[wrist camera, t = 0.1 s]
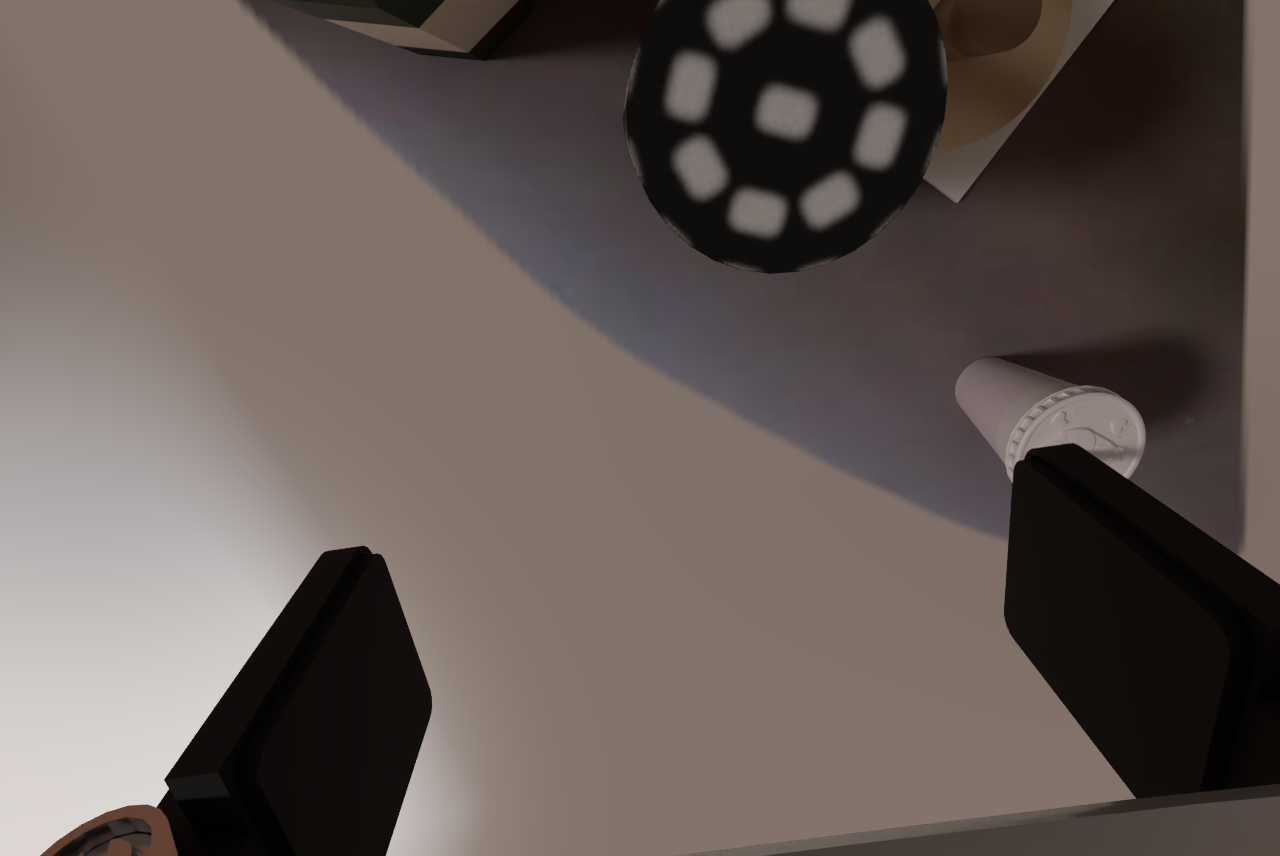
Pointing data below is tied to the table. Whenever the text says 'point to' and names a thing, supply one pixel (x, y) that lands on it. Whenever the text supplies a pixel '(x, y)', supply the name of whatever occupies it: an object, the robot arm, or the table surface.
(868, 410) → the table surface
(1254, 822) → the robot arm
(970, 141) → the lid
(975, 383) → the smoothie
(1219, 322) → the table surface
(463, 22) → the wine bottle
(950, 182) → the mat
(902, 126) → the spotted tube
